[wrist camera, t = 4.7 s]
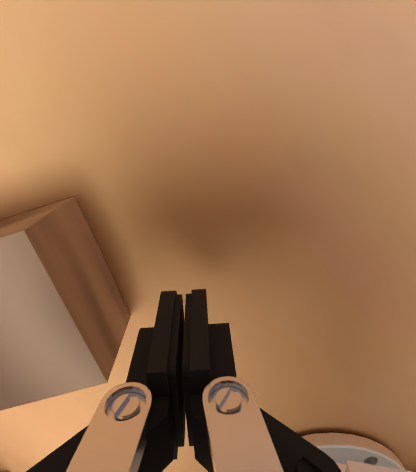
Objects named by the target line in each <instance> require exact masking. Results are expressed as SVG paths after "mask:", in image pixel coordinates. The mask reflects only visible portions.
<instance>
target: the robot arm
mask: <svg viewBox="0 0 416 472" xmlns="http://www.w3.org/2000/svg"><path fill="white" fill-rule="evenodd" d="M185 414H186V419H187V429H188V438H189V446H194V451H195V459H196V460H197V461H198V462H199V463H200V464H201V465H202V466H203V467H204V468H205V469H207V470H208V472H412V471H406V470H405V468H404V466H403V464H402V463H401V461H400V460H399V459H398V458H397V457H396V455H395V454H394V453H393V452H392V451H390V450H389V449H387V448H386V447H385V446H383V445H382V444H379V443H377V442H375V441H373V440H370V439H368V438H364V437H360V436H356V435H352V434H343V433H316V434H310V435H304V436H300V435H298V434H297V433H295V432H294V431H292V430H291V429H289V428H288V427H286V426H285V425H284V424H282V423H281V422H279V421H278V420H276V419H275V418H273V417H272V416H270V415H269V414H268V413H266V412H265V411H263V410H262V409H260V408H259V405H258V403H257V400H256V397H255V395H254V392H253V390H252V389H251V387H250V386H249V385H248V384H247V383H246V382H245V381H243V380H241V379H239V378H237V377H236V370H235V363H234V356H233V349H232V342H231V335H230V328H229V323H220V324H208V314H207V297H206V289H198V290H192V294H186V305H185V321H184V310H183V299H182V294H179V295H177V293H176V291H164V292H161V295H160V300H159V306H158V311H157V316H156V321H155V326H154V327H152V328H141V329H140V330H139V333H138V337H137V341H136V345H135V349H134V353H133V357H132V361H131V365H130V368H129V372H128V376H127V380H126V383H123V384H120V385H118V386H116V387H114V388H112V389H111V390H110V391H109V392H107V393H106V394H105V396H104V397H103V398H102V400H101V402H100V404H99V406H98V408H97V410H96V412H95V414H94V416H93V418H92V420H91V422H90V424H89V425H88V426H87V427H85V428H84V429H83V430H81V431H80V432H79V433H77V434H76V435H75V436H73V437H72V438H71V439H69V440H68V441H67V442H65V443H64V444H63V445H61V446H60V447H59V448H57V449H56V450H55V451H53V452H52V453H51V454H49V455H48V456H46V457H45V458H44V459H42V460H41V461H40V462H38V463H37V464H36V465H34V466H33V467H32V468H30V469H29V470H28V471H26V472H163V470H164V469H165V468H166V467H167V466H168V465H169V464H170V463H171V462H172V461H173V459H177V452H178V447H182V446H184V439H185Z"/></svg>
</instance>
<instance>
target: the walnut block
mask: <svg viewBox="0 0 416 472" xmlns="http://www.w3.org/2000/svg"><path fill="white" fill-rule="evenodd" d="M130 316H131V314H130V312H129V310H128V308H127V306H126V303H125V301H124V299H123V297H122V295H121V293H120V291H119V289H118V286H117V284H116V282H115V280H114V278H113V276H112V274H111V272H110V269H109V267H108V265H107V263H106V261H105V259H104V257H103V254H102V252H101V250H100V248H99V246H98V244H97V242H96V240H95V237H94V235H93V233H92V231H91V229H90V227H89V225H88V223H87V220H86V218H85V216H84V214H83V212H82V210H81V208H80V206H79V203H78V201H77V199H76V197H75V196H74V197H71V198H68V199H65V200H62V201H58V202H55V203H52V204H49V205H46V206H43V207H40V208H37V209H33V210H30V211H27V212H24V213H21V214H18V215H15V216H12V217H9V218H5V219H2V220H0V410H4V409H8V408H12V407H16V406H19V405H23V404H27V403H31V402H35V401H38V400H42V399H46V398H50V397H54V396H58V395H61V394H65V393H69V392H73V391H77V390H81V389H84V388H88V387H92V386H96V385H100V384H103V383H107V382H108V379H109V376H110V373H111V370H112V367H113V364H114V362H115V359H116V356H117V353H118V350H119V347H120V344H121V342H122V339H123V336H124V333H125V330H126V327H127V324H128V322H129V319H130Z"/></svg>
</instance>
